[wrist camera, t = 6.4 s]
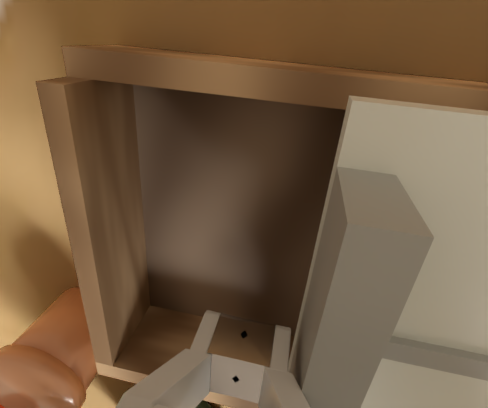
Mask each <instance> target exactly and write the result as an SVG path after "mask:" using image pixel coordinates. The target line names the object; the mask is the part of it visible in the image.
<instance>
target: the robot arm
mask: <svg viewBox="0 0 488 408" xmlns="http://www.w3.org/2000/svg"><path fill="white" fill-rule="evenodd" d="M290 338H291V328H289V327H284V326H279V325H276V326H275V324H270V323H265V322H260V321H255V320H251V319H244V318H240V317H236V316H232V315H228V314H224V313H219V312H214V311H210V310H207V311H206V312H205V313H204V316H203V318H202V321H201V323H200V326H199V328H198V330H197V333H196V335H195V338H194V340H193V343H192V345H191V348H190V349H186V348H185V349H184V350H183V351H181V352H180V353H179V354H177V355H176V356H174V357H173V358H172V359H170V360H169V361H168V362H166V363H165V364H163V365H162V366H161V367H159V368H158V369H156V370H155V371H154V372H152V373H151V374H150V375H148V376H147V377H145V378H144V379H143V380H141V381H140V382H139V383H137V384H136V385H134V386H133V387H132V388H130V389H129V390H128V391H126V392H125V393H123V395H122V397H121V399H120V401H119V402H118V404H117V406H116V408H195V407H196V406H197V405H198V404H199V403H200V402H201V401H202V400H203V399H204V398H205V397H206V396H207V395H208V394H209V392H214V393H218V394H223V395H228V396H232V397H236V398H240V399H243V400H247V401H250V402H254V403H257V404H258V406H259V408H310V406H309V404H308V402H307V400H306V398H305V396H304V394H303V393H302V391H301V389H300V387H299V385H298V383H297V381H296V379H295V377H294V376H293V374H292V373H289V372H288V363H289V351H290Z"/></svg>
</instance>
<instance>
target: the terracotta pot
mask: <svg viewBox="0 0 488 408" xmlns="http://www.w3.org/2000/svg"><path fill="white" fill-rule="evenodd" d="M97 373H98V372H97V368H96V363H95V358H94V354H93V349H92V344H91V339H90V335H89V330H88V325H87V321H86V316H85V311H84V306H83V302H82V297H81V292H80V288H79V287H76V288H70V289H68V290H66V291H64V292H63V293H62V294H61V295H60V296H59V297H58V298H57V299H56V300H55V301H54V302H53V303H52V304H51V305H50V306H49V307H48V308H47V309H46V310H45V311H44V312H43V313H42V314H41V315H40V316H39V317H38V318H37V319H36V320H35V321H34V322H33V323H32V324H31V325H30V326H29V327H28V328H27V329H26V331H25V332H24V333H23V334H22V335H21V336H20V337H19V338H18V339H17V340H16V341H15V342H14V343H13V344H12V345H7V346H4V347H2V348H0V404H1V405H2V406H3V407H5V408H81V407H82V405H83V403H84V402H85V399H86V390H87V388H88V387H89V385H90V383H91V382H92V380H93V379H94V377H95V376H96V374H97Z"/></svg>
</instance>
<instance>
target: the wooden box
mask: <svg viewBox="0 0 488 408" xmlns="http://www.w3.org/2000/svg"><path fill="white" fill-rule="evenodd" d="M62 50H63V56H64V62H65V68H66V74H67V77H62V78H55V79H48V80H41V81H36V85H37V90H38V95H39V99H40V104H41V109H42V114H43V118H44V123H45V128H46V132H47V137H48V142H49V147H50V151H51V156H52V161H53V165H54V170H55V175H56V179H57V184H58V189H59V194H60V198H61V203H62V208H63V212H64V217H65V222H66V226H67V231H68V236H69V241H70V245H71V250H72V255H73V259H74V264H75V269H76V274H77V278H78V283H79V288H80V292H81V297H82V302H83V306H84V311H85V316H86V321H87V325H88V330H89V335H90V339H91V344H92V349H93V354H94V358H95V363H96V368H97V372H98V374H100V375H104V376H108V377H112V378H116V379H120V380H124V381H128V382H132V383H136V384H137V383H139V382H140V381H141V380H143V379H144V378H145V377H147V376H148V375H150V374H151V373H152V372H154V371H155V370H156V369H158V368H159V367H161V366H162V365H163V364H165V363H166V362H168V361H169V360H170V359H172V358H173V357H174V356H176V355H177V354H179V353H180V352H181V351H183V350H184V349H185V348H186V349H190V348H191V345H192V343H193V340H194V338H195V335H196V333H197V330H198V328H199V326H200V323H201V321H202V318H203V316H204V313H205V312H206V311H207V310H210V311H214V312H219V313H224V314H228V315H232V316H236V317H240V318H244V319H251V320H255V321H260V322H265V323H270V324H275V326H276V325H279V326H284V327H289V328H291V338H290V351H289V359H290V354H291V350H292V346H293V341H294V337H295V332H296V328H297V323H298V319H299V315H300V310H301V306H302V301H303V297H304V293H305V288H306V284H307V279H308V275H309V271H310V266H311V262H312V257H313V253H314V248H315V244H316V240H317V235H318V231H319V226H320V222H321V218H322V213H323V209H324V204H325V200H326V195H327V191H328V187H329V182H330V178H331V173H332V169H333V165H334V160H335V156H336V151H337V147H338V142H339V138H340V134H341V129H342V125H343V120H344V116H345V112H346V107H347V103H348V98H349V95H351V96H359V97H368V98H377V99H386V100H395V101H404V102H413V103H422V104H430V105H439V106H448V107H457V108H466V109H475V110H484V111H488V83H485V82H475V81H465V80H456V79H446V78H436V77H426V76H417V75H407V74H397V73H387V72H377V71H368V70H358V69H348V68H338V67H328V66H319V65H309V64H299V63H289V62H279V61H270V60H260V59H250V58H240V57H230V56H221V55H211V54H201V53H191V52H181V51H172V50H162V49H152V48H142V47H132V46H123V45H88V46H62ZM203 400H204V401H208V402H212V403H216V404H220V405H224V406H228V407H232V408H259V406H258V404H257V403H254V402H250V401H247V400H243V399H240V398H236V397H232V396H228V395H223V394H218V393H214V392H209V394H208V395H207V396H206V397H205V398H204V399H203Z"/></svg>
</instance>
